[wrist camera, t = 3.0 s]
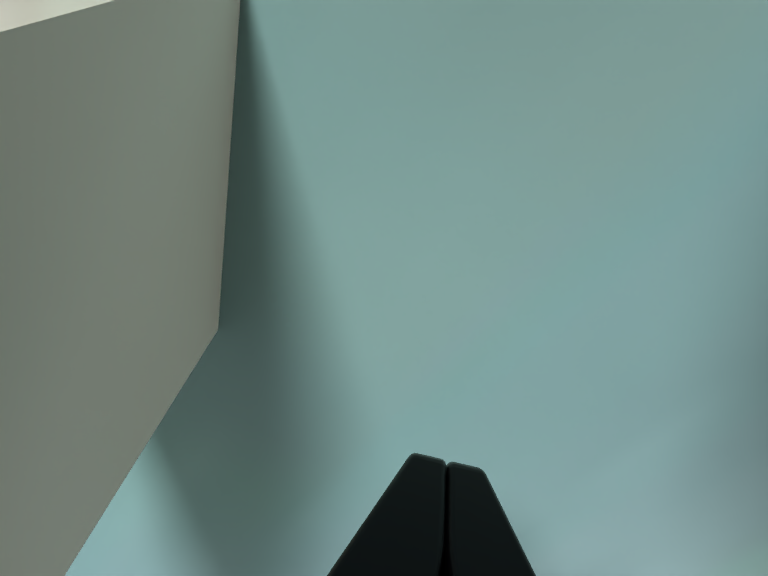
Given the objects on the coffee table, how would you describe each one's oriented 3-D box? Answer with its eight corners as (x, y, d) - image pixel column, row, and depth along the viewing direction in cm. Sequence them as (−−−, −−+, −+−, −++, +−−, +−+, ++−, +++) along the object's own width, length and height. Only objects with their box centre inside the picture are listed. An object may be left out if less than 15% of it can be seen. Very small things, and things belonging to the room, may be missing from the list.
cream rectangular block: (242, -36, 12) (-217, 92, 4) (218, 329, 16) (-35, 733, 8) (78, -72, 12) (-676, -13, 4) (96, 300, 16) (-267, 675, 8)
